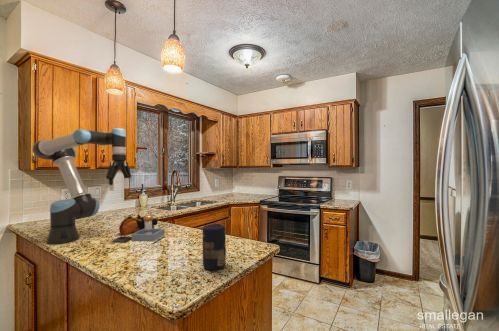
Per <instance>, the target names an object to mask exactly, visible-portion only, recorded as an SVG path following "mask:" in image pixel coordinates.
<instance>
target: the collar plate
mask: <svg viewBox="0 0 499 331" xmlns="http://www.w3.org/2000/svg"><path fill="white" fill-rule="evenodd" d="M130 241H131V236H123V235H121V236H119V237H116V238H114V239H112V240H111V241H108V242H107V243H108V244H111V243H113V244H126V243H128V242H130Z"/></svg>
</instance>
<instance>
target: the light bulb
mask: <svg viewBox="0 0 499 331" xmlns="http://www.w3.org/2000/svg"><path fill="white" fill-rule="evenodd" d="M142 217H143V220H144V221H145V234H152V219H154V215H153V214H146V215H143V216H142Z"/></svg>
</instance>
